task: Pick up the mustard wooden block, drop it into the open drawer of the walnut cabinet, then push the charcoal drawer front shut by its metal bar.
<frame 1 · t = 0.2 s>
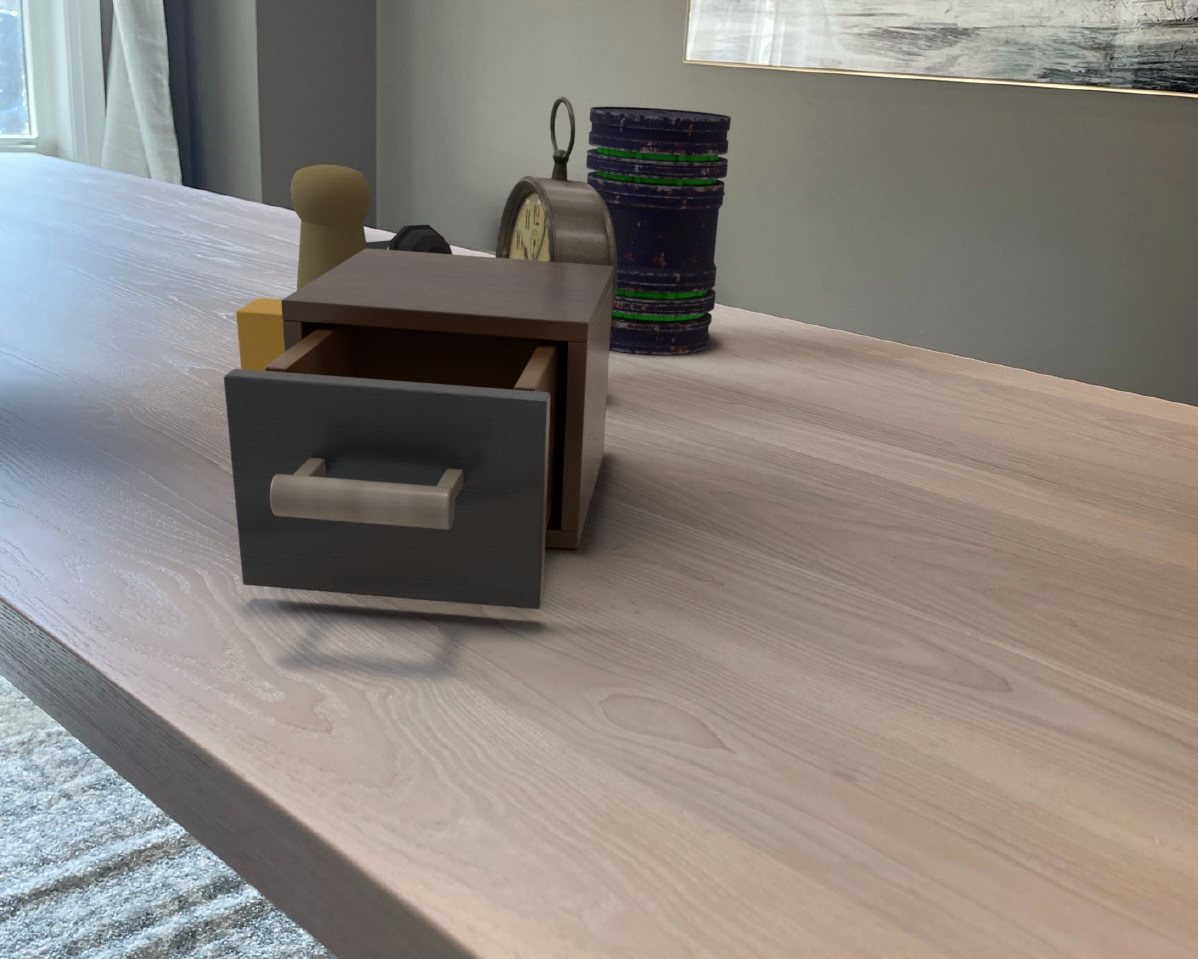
drawer: (413, 460, 51), point 5 cm above the table, slide at 8.0 cm
block: (288, 381, 79), on the table
alarm clock: (553, 389, 82), on the table
storage jar: (644, 342, 96), on the table
cork: (338, 344, 90), on the table
microphone: (383, 286, 109), on the table
cabinet: (464, 488, 63), on the table
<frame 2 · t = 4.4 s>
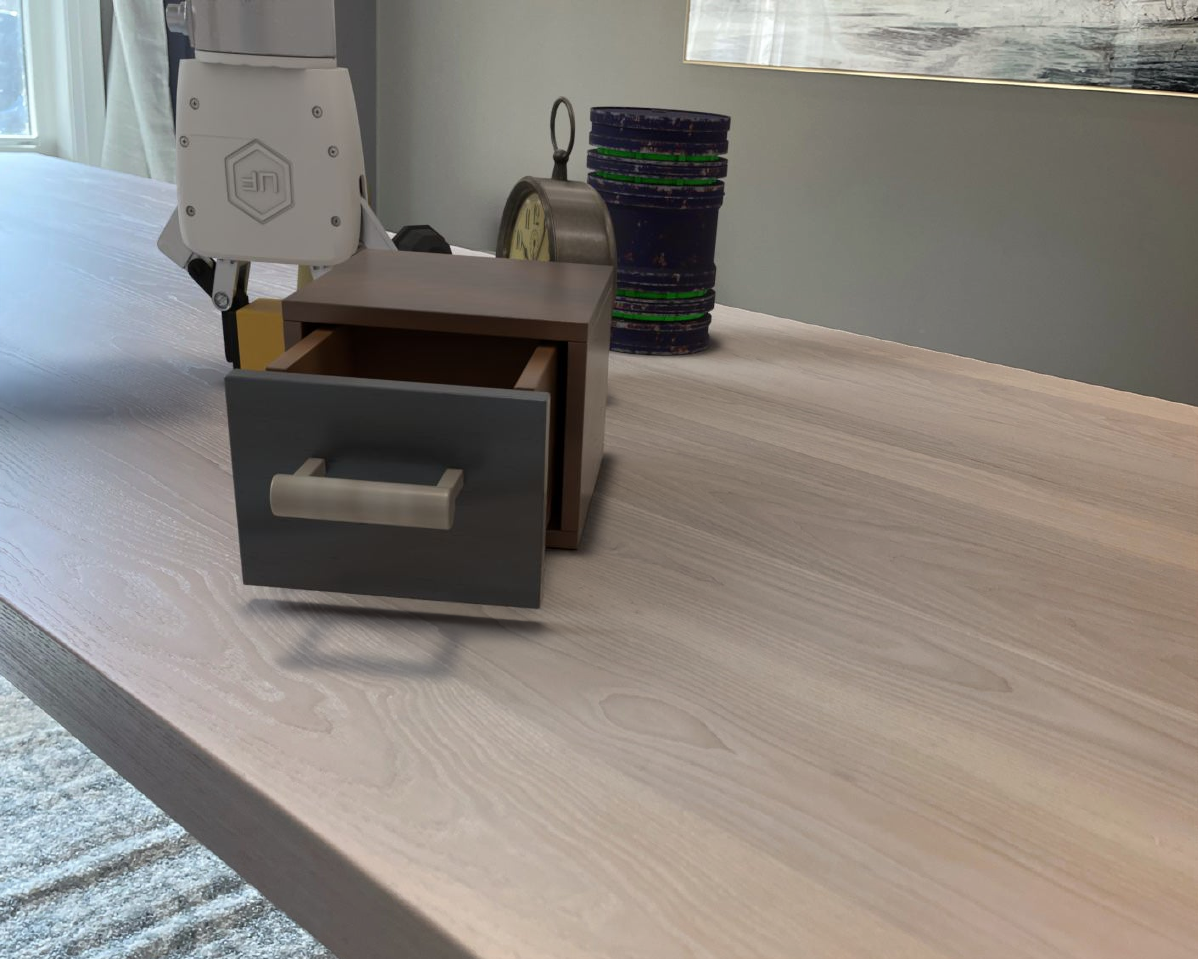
hand: (288, 375, 79), 0 cm above the table, tool pointing down, fingers closed on block, 4 cm apart
block: (288, 381, 79), on the table, touching gripper
everything else where it was.
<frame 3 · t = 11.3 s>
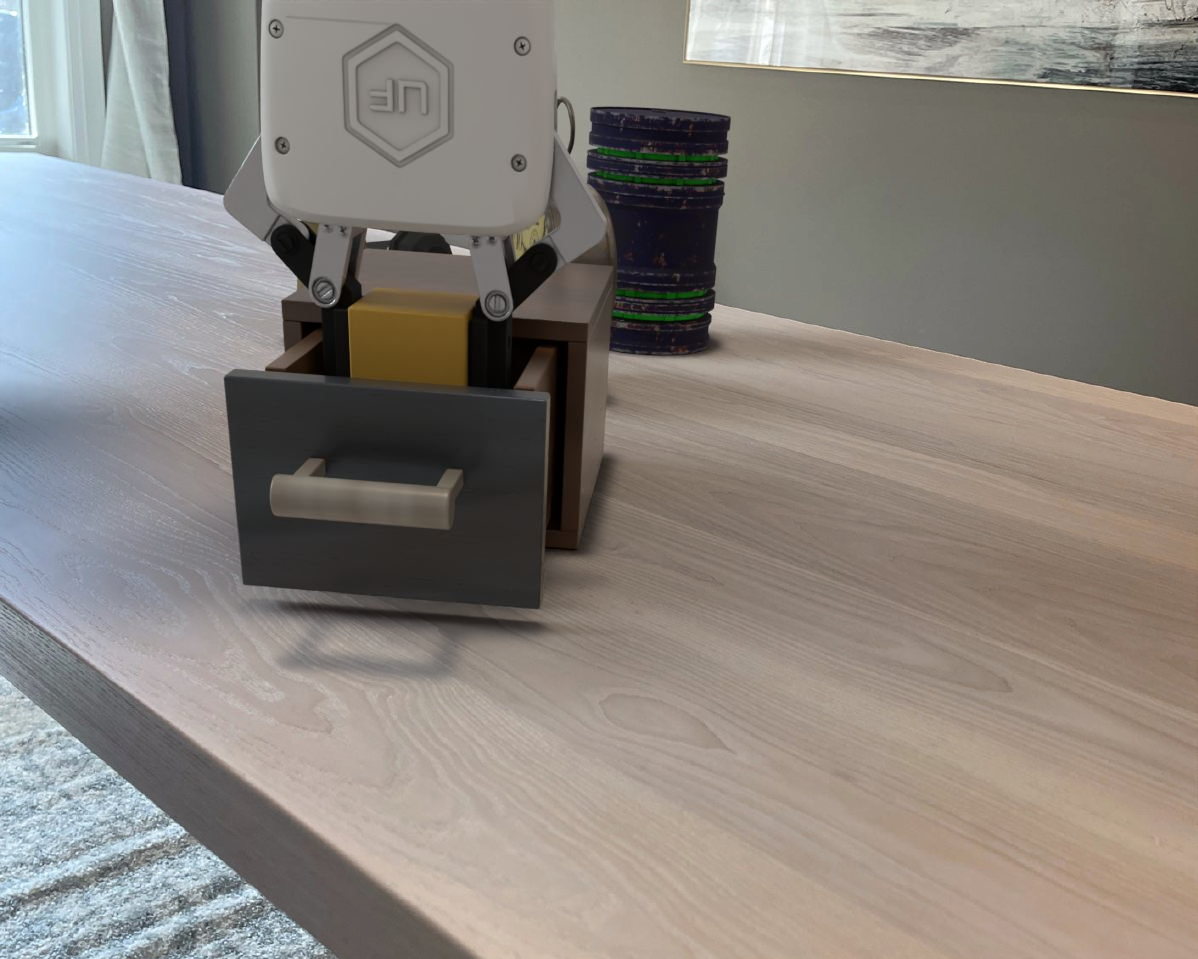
hand: (419, 407, 52), 6 cm above the table, tool pointing down, fingers closed on block, 4 cm apart
block: (419, 416, 52), point 6 cm above the table, touching gripper
everything else where it was.
when the fingers open (6 cm above the table, at t = 14.6 s): block drops 3 cm, resting on drawer.
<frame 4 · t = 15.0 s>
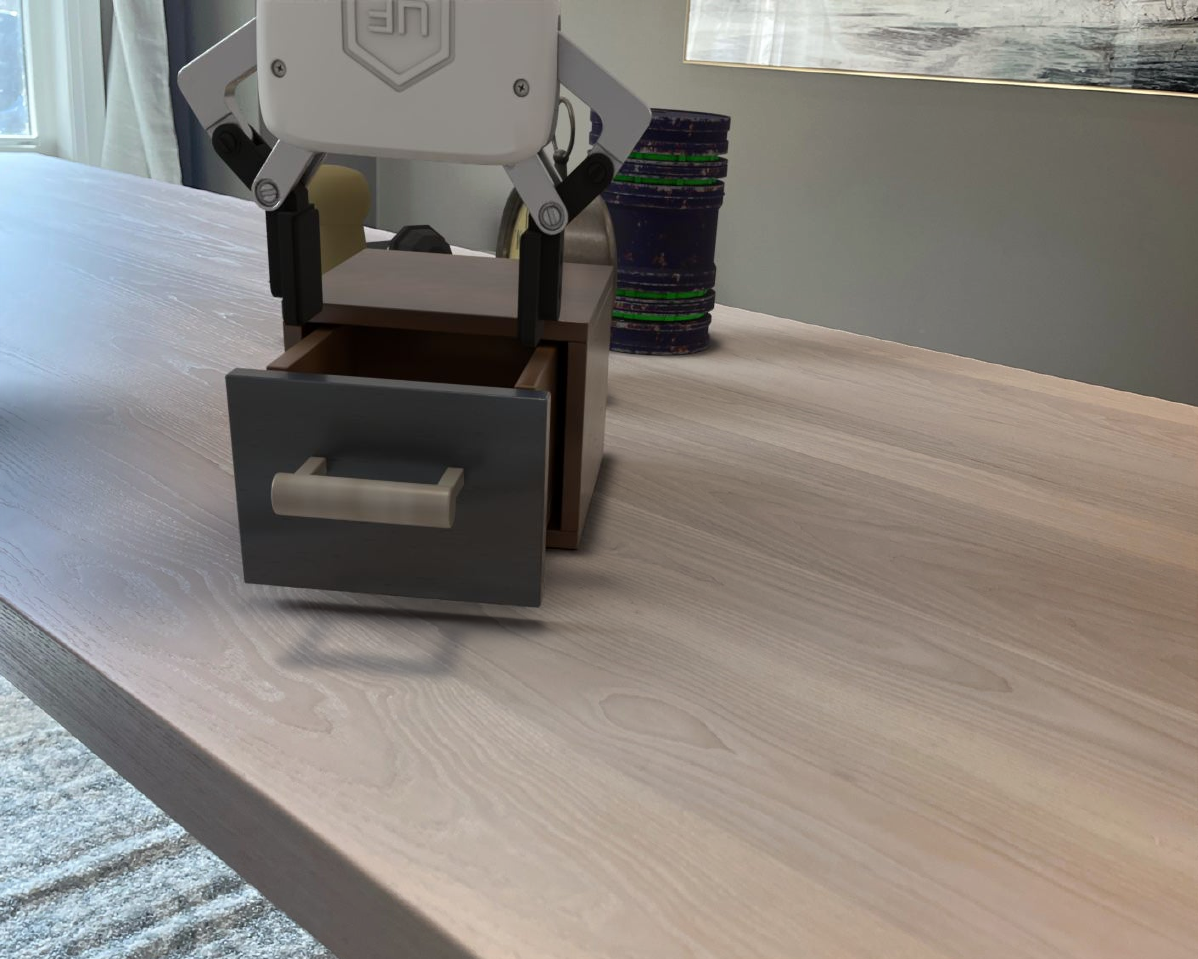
hand: (417, 328, 50), 9 cm above the table, tool pointing down, fingers open, 8 cm apart
drawer: (414, 459, 51), point 5 cm above the table, slide at 7.9 cm, touching block
block: (419, 512, 54), point 2 cm above the table, touching drawer
everything else where it was.
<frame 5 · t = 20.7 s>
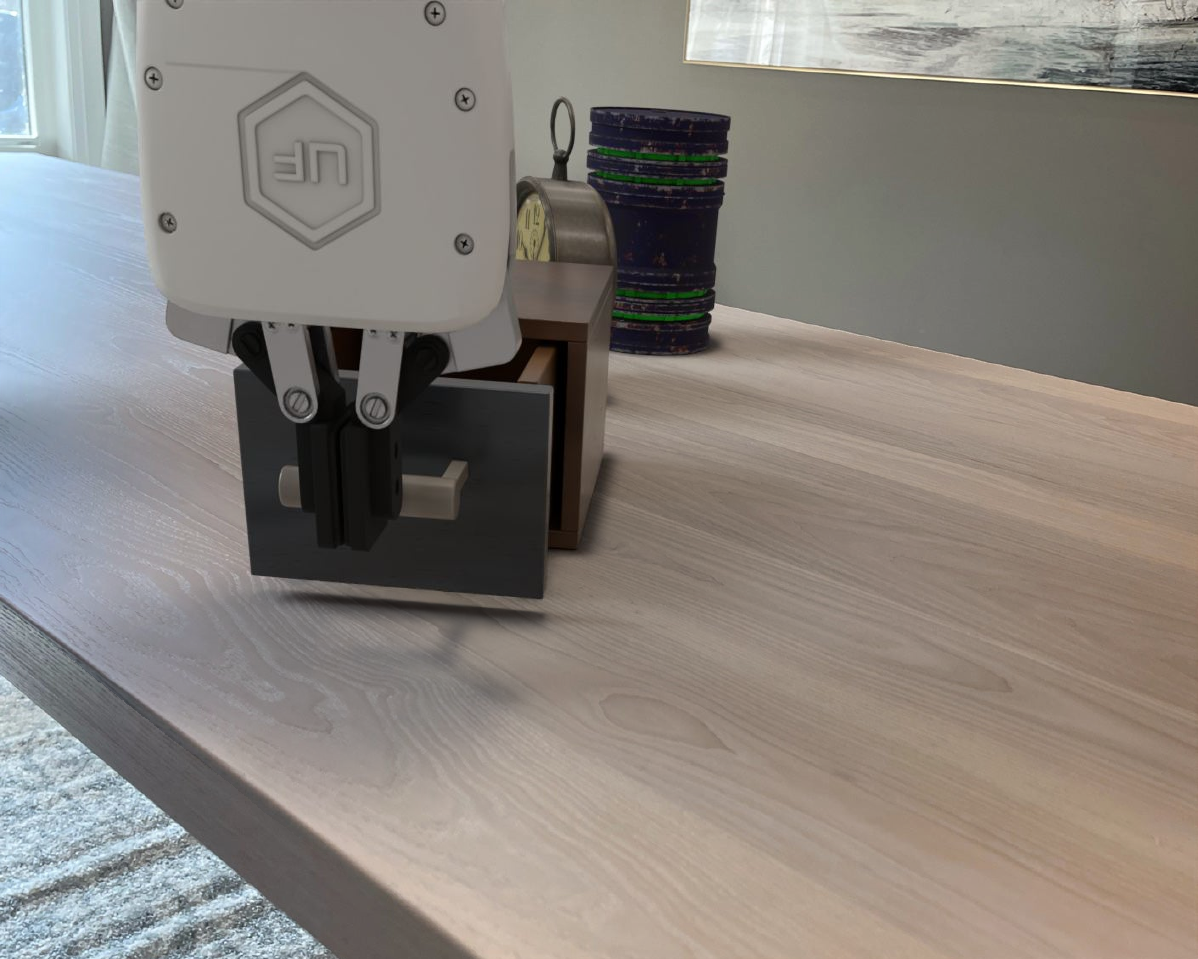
hand: (354, 535, 43), 5 cm above the table, tool pointing down, fingers closed
drawer: (418, 453, 52), point 5 cm above the table, slide at 7.0 cm, touching block, gripper
everything else where it was.
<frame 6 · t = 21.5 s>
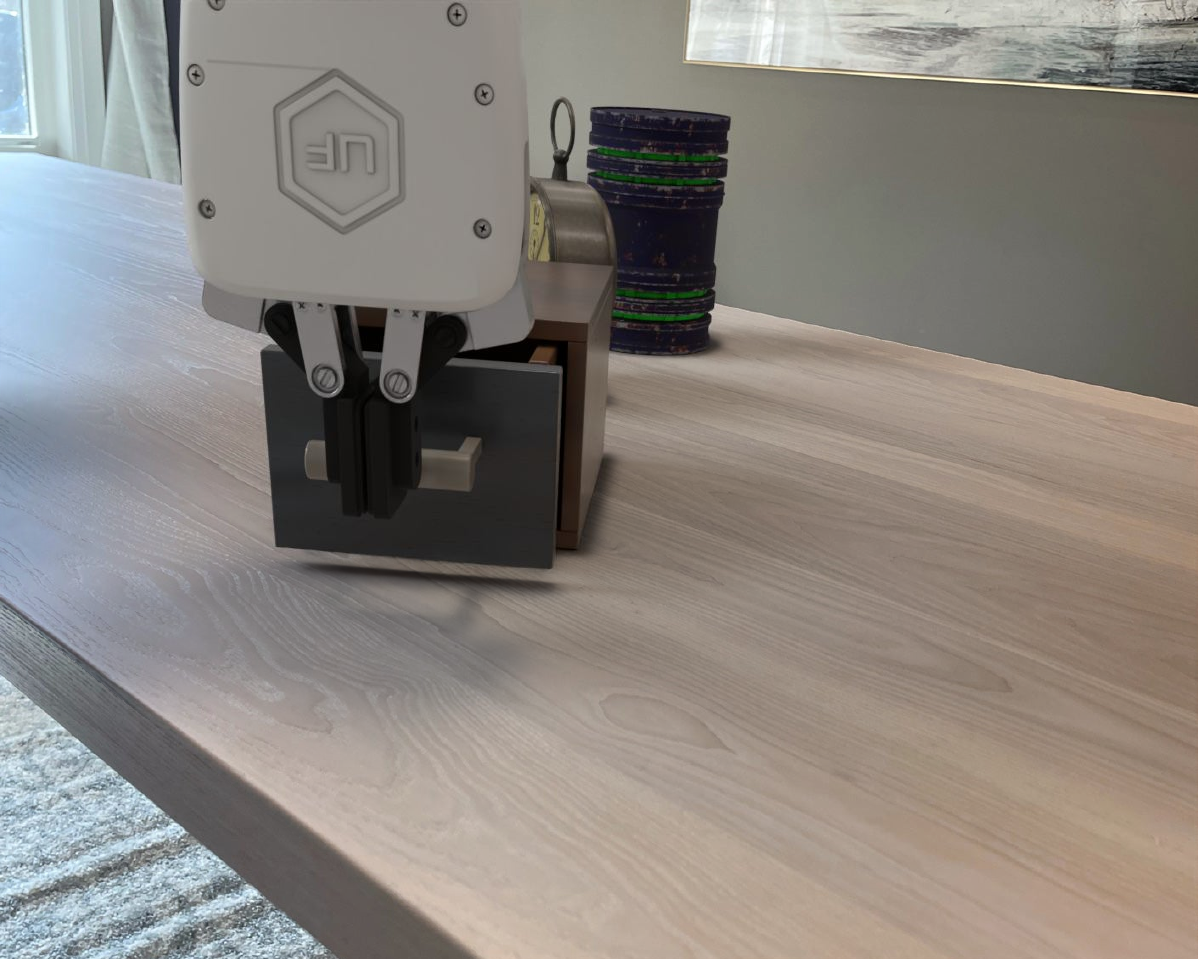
hand: (376, 505, 45), 5 cm above the table, tool pointing down, fingers closed
drawer: (433, 432, 54), point 5 cm above the table, slide at 3.8 cm, touching block, gripper
block: (437, 483, 57), point 2 cm above the table, touching drawer
everything else where it was.
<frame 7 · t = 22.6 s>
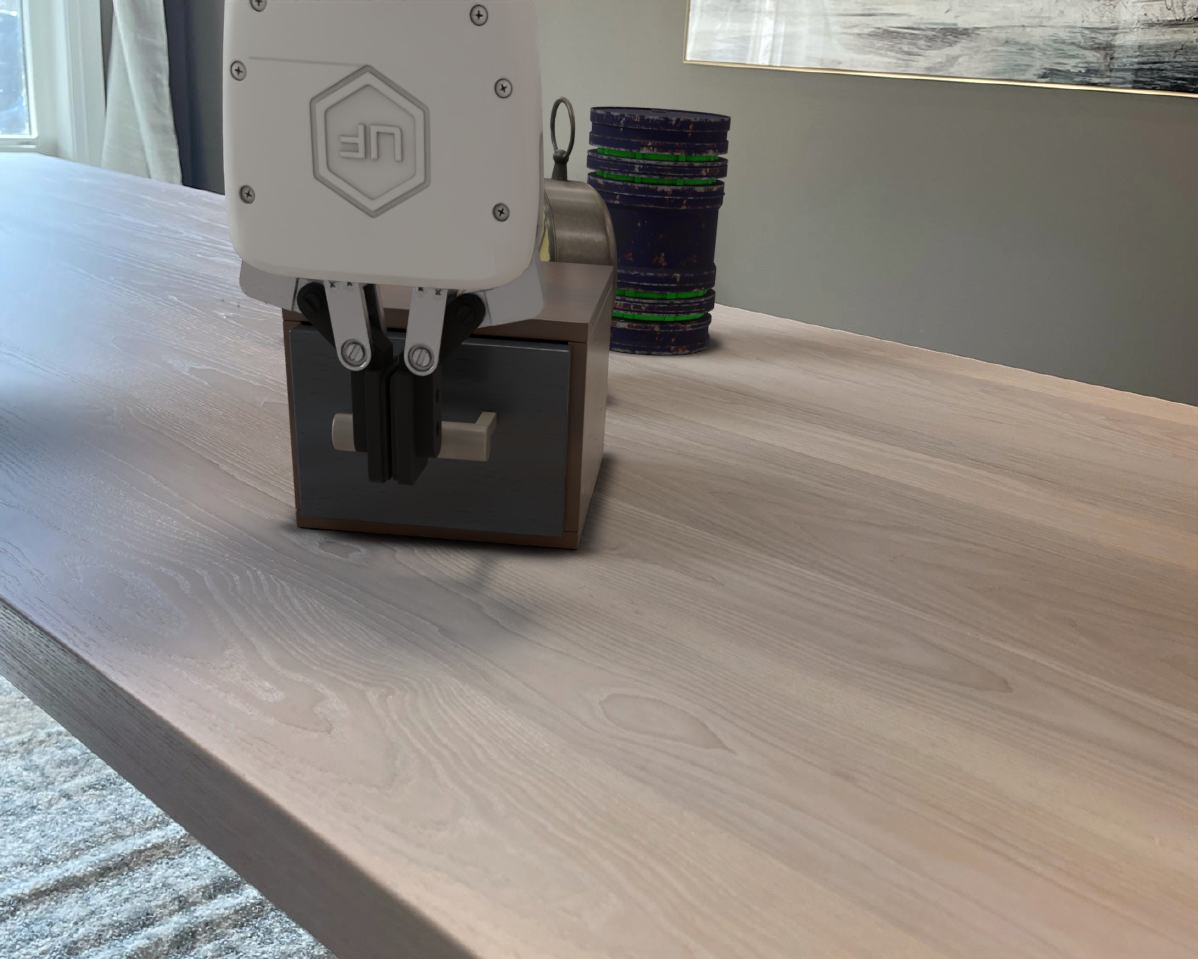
hand: (399, 472, 48), 5 cm above the table, tool pointing down, fingers closed
drawer: (449, 409, 58), point 5 cm above the table, slide at 0.0 cm, touching block, cabinet, gripper
block: (452, 458, 61), point 2 cm above the table, touching drawer
everything else where it was.
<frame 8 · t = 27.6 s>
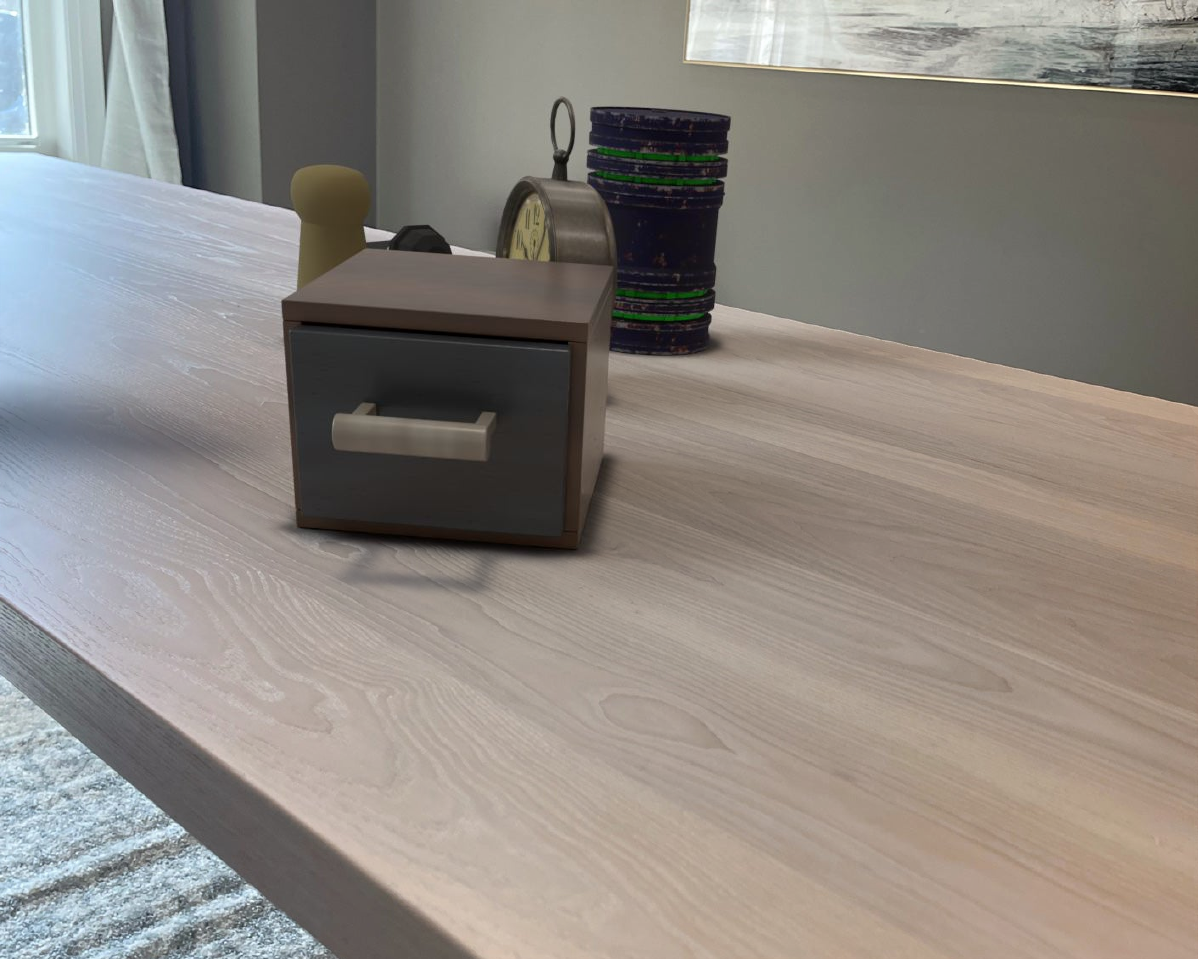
drawer: (449, 409, 58), point 5 cm above the table, slide at 0.0 cm, touching block, cabinet
everything else where it was.
at the end: block inside the target area in the cabinet (1.9 cm from its centre), point 2.0 cm above the cabinet's base; drawer slide at 0.0 cm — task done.
